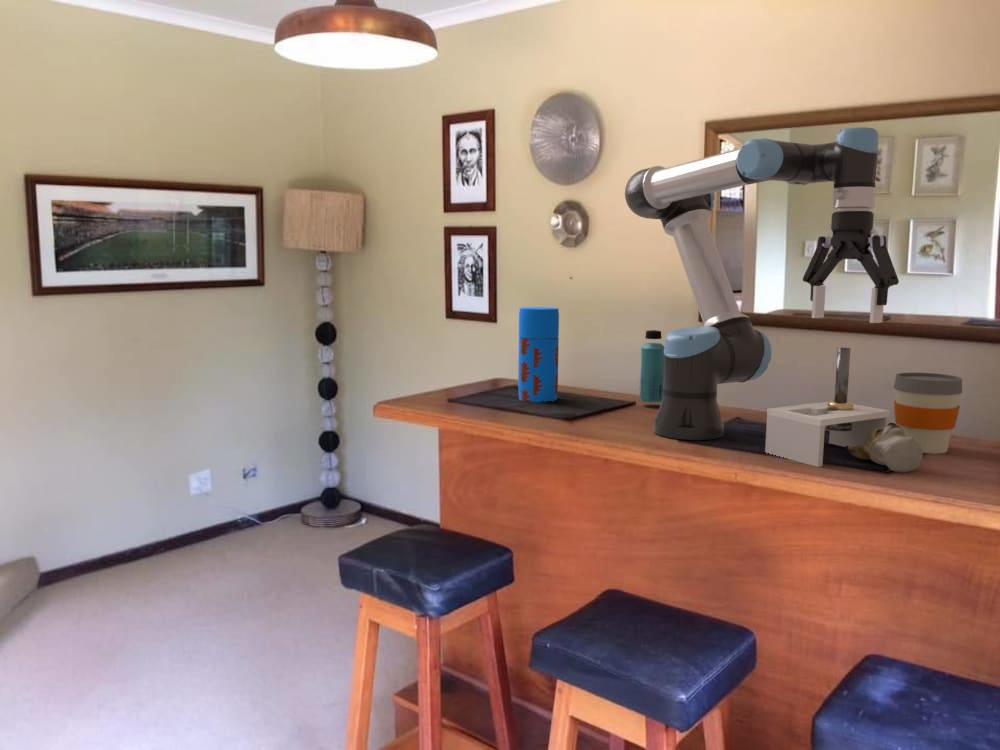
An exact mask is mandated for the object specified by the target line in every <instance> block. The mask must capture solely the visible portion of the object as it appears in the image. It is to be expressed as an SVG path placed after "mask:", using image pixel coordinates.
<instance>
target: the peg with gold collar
mask: <svg viewBox="0 0 1000 750" xmlns="http://www.w3.org/2000/svg"><path fill="white" fill-rule="evenodd" d="M836 349H837V351H836V363H835V365H836V366H835V367H836V368H835V384H834V398H833V400H828V401H827V402H828V405H827V408H829V409H833V410H835V411H836V410H853V404H855V403H854V402H852V401H849V400H848V392H849V391H848V390H849V379H850V378H849V376H850V364H851V363H850V361H851V347H848V346H838V347H837V348H836ZM825 429H827V430H829V431H830V430H834V431H851V430H852V423H850V422H848V423H840V424H833V425H825Z"/></svg>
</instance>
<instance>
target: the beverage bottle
mask: <svg viewBox="0 0 1000 750" xmlns="http://www.w3.org/2000/svg"><path fill="white" fill-rule="evenodd" d="M644 337H645V339H647V340H662V331H660V330H656V329H655V330H653V329H652V330H651V329H649V330H646V331H645V336H644ZM664 348H665V345H664V344H662V343H661V342H660V343H659V342H645V343H644V344H643V345H642V346H641V348H640V349H641V350H640V351H641V352H640V354H641V355H640V382H639V399H640V401H641V402H643V403H655V404H656V403H661V402H662V399H663V383H664Z"/></svg>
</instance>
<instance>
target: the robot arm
mask: <svg viewBox="0 0 1000 750" xmlns="http://www.w3.org/2000/svg"><path fill="white" fill-rule="evenodd" d="M879 154H880V151H879V133H878V130H877V129H875V128H874V127H873V128H872V127H867V126H865V127H846V128H842V129H840V130H838V131H837V133H836V137H835V141H833V142H828V143H819V144H818V143H817V144H811V143H810V144H809V143H802V142H801V143H800V142H791V141H790V142H789V141H781V140H775V139H770V138H753V139H750V140H747V141H746V142H745V143H744V144H743V145H742V146H741V147H739V148H736V149H732V150H729V151H724V152H721V153H718V154H714V155H711V156H706V157H703V158H702V157H701V158H698V159H696V160H695V159H694V160H691V161H688V162H687V161H686V162H684V163H680V164H676V165H673V166H669V167H664V166H661V165H655V166H652V167H647V168H644V169H640V170H639V171H636V172H635V173H634V174H633V175H631V176H630V178H629V179H628V181H627V183H626V185H625V188H624V189H625V190H624V199H625V202H626V205H627V207H628V208H629V209H630V211H632V213H634V214H635V215H636V216H638V217H640V218H643V219H648V220H660V222H661V224H662V228H663V230H664V233H665V234H666V235H668V236H671V237H673V240H674V242H675V245H676V248H677V251H678V254H679V257H680V259H681V263H682V266H683V268H684V271H685V275H686V277H687V281H688V282H689V286H690V288H691V292H692V294H693V298H694V300H695V302H696V303H695V304H696V306H697V309H698V311H699V314H700V316H701V320H702V324H703V326H702V325H701V326H700V325H699V326H697V325H696V326H693V327H692V326H688V327H680V328H677V329H676V328H675V329H673V330H671V331H670V332H668V333H667V335H666V336H665V340H664V347H665V348H664V383H663V399H662V402H660V406H659V409H658V413H657V416H656V418H655V420H654V421H653V423H654V424H653V433H655V434H656V435H658V436H660V437H661V436H662V437H665V438H669V439H670V438H671V439H677V440H688V441H689V440H691V441H703V440H705V441H706V440H714V439H719V438H721V437H722V438H723V436H724V430H725V429H724V428H725V427H724V422H723V421H722V416H721V412H720V408H719V404H718V385H720V384H730V383H731V384H732V383H745V382H747V381H748V382H749V381H752V380H756V379H758V378H760V377H761V376H762V375H763V374H764V373H766V371H767V370H768V368H769V363H771V360H772V345H771V342H770V339H769V338H768V336H767V335H766V334H765V333H764V332H761V331H760V330H758V329H754V327H753V324H752V321H751V318H750V317H749V316H748V315H746V314H743V313H741V310H740V308H739V305H738V303H737V299H736V297H735V295H734V292H733V289H732V286H731V283H730V280H729V278H728V275H727V273H726V272H727V271H726V270H725V267H724V264H723V261H722V259H721V256H720V253H719V250H718V247H717V245H716V242H715V240H714V237H713V234H712V231H711V228H710V226H709V222H710V220H711V219H712V215H713V214H712V210H713V209H714V205H715V204H714V201H715V197H716V196H715V193H718V192H722V191H725V190H726V191H727V190H730V189H735V188H741V187H743V186H748V185H754V184H759V183H762V182H768V181H776V182H777V181H778V182H786V183H788V184H790V185H802V186H805V185H808V184H816V183H817V184H818V183H826V182H827V183H828V182H833V194H832V209H833V210H835V211H834V212H832V213H831V224H830V229H831V231H832V237H831V236H825V235H824V236H819V237H818V238H817V245H816V248H815V251H814V253H813V255H812V257H811V259H810V262H809V263H808V266H807V269H806V271H805V272H804V275H803V277H802V281H803V282H804V283H808V284H809V285H810V302H812V304H811V305H812V307H811V318H812V319H824V318H825V304H826V303H825V301H826V285H825V283H824V282H825V281H826V280H827V278H828V277H829V276H830V274H831V273H832V272H833V270H834V269H835V268H836V267H837V265H838V264H839V263H840V262H841V261H843V260H857V261H858V262H860V264H861V266H862V267H863V269H864V270H865V271H866V273H867V275H868V276H869V278H870V280H871V282H872V283H873V284H874V285H875V286H873V288H871V299H870V310H869V311H870V314H869V323H870V324H875V323H876V324H881V323H883V319H884V318H883V316H884V306H887V303H888V291H889V288H890V287H892V286H897V285H899V277H898V275H897V272H896V269H895V266H894V263H893V261H892V258H891V256H890V253H889V251H888V247H887V237H886V235H884V234H883V235H882V234H880V235H879V234H878V235H877V234H876V235H873V236H871V233H872V230H874V229H873V228H874V217H875V213H873V211H871V210H872V209H874V208H875V205H876V178H877V168H878V167H877V166H878V158H879ZM831 247H832V249H831ZM870 247H871V248H872V250H873V254H874V255H873V254H872V252H871V250H870V249H869V248H870ZM830 249H831V250H830ZM874 257H875V259H876V260H875V259H874Z"/></svg>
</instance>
